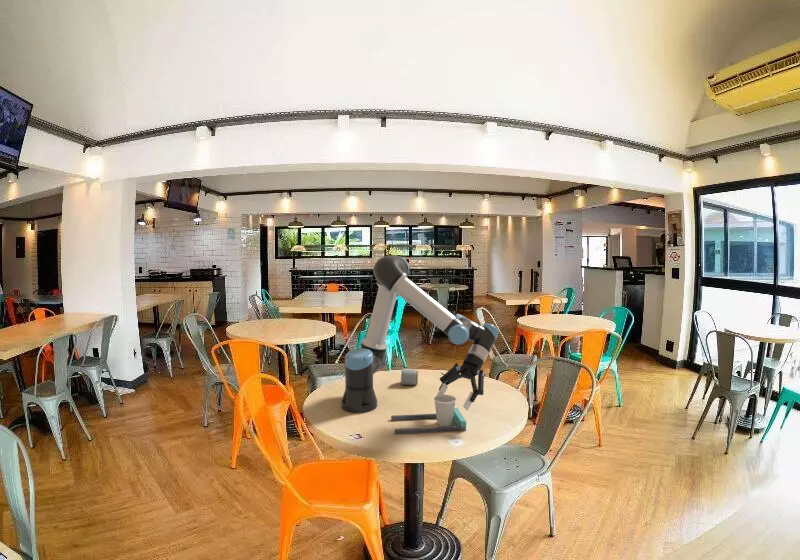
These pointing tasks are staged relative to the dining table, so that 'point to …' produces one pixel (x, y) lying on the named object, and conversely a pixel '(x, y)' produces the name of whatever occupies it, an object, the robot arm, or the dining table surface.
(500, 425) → the dining table surface
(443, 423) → the dixie cup
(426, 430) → the guide rails
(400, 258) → the robot arm
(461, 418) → the teal band
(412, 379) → the ceramic mug
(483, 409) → the dining table surface
